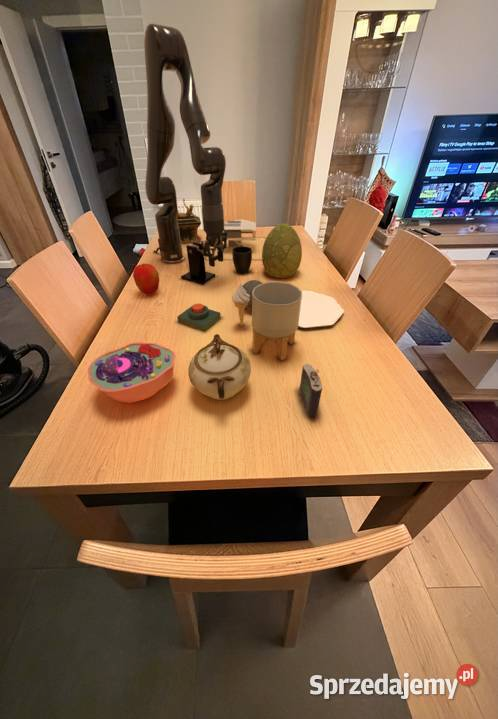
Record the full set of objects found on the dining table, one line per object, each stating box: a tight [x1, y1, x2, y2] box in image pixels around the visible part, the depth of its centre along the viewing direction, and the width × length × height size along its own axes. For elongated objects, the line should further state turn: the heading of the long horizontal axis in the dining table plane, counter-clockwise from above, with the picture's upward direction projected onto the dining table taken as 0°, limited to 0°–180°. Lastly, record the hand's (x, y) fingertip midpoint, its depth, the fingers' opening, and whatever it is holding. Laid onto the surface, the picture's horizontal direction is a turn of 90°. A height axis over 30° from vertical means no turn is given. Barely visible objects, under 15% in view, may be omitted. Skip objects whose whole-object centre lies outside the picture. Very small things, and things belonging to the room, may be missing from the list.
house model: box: [205, 218, 267, 260], centre depth 147 cm, size 29×30×12 cm
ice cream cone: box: [231, 283, 250, 327], centre depth 93 cm, size 6×6×15 cm
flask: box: [298, 363, 323, 419], centre depth 68 cm, size 9×3×11 cm, turn 8°
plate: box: [298, 290, 345, 329], centre depth 104 cm, size 24×24×2 cm
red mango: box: [132, 262, 160, 296], centre depth 111 cm, size 9×9×12 cm
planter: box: [251, 281, 302, 361], centre depth 83 cm, size 13×13×18 cm
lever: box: [191, 243, 221, 262], centre depth 116 cm, size 12×5×2 cm, turn 60°
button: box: [191, 303, 205, 313], centre depth 97 cm, size 4×4×2 cm
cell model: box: [87, 341, 176, 404], centre depth 72 cm, size 17×20×11 cm
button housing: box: [177, 304, 222, 332], centre depth 99 cm, size 11×9×4 cm
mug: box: [232, 245, 253, 275], centre depth 128 cm, size 8×12×10 cm
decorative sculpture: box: [261, 223, 303, 279], centre depth 122 cm, size 16×16×20 cm
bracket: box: [180, 242, 216, 286], centre depth 121 cm, size 11×9×14 cm
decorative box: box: [158, 198, 202, 245], centre depth 153 cm, size 20×10×20 cm, turn 103°
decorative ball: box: [242, 279, 263, 310], centre depth 103 cm, size 10×10×10 cm
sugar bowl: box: [187, 333, 252, 401], centre depth 71 cm, size 20×15×15 cm
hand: (216, 263), depth 116 cm, fingers closed on lever, 5 cm apart
